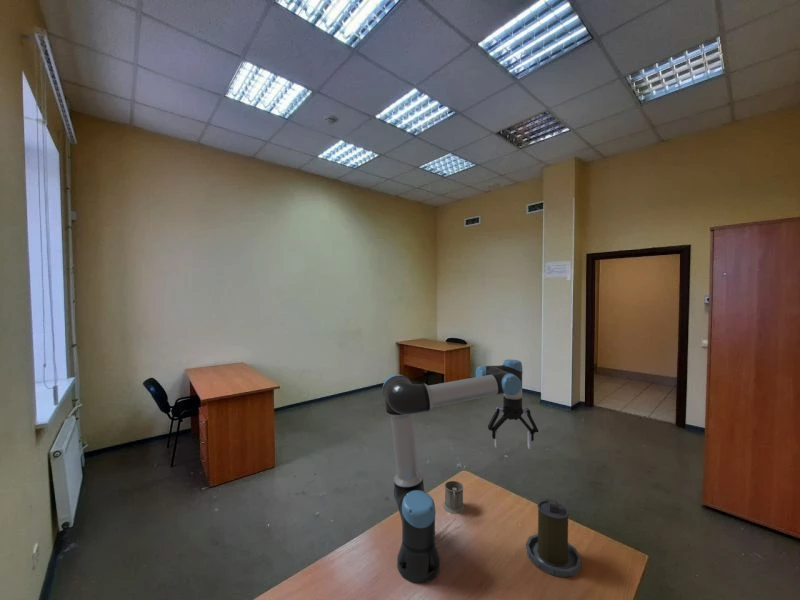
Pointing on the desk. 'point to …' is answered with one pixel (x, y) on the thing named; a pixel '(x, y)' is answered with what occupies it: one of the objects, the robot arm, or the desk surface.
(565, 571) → the round tray
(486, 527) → the desk surface
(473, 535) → the desk surface
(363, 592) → the desk surface
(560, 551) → the canister
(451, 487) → the mug
